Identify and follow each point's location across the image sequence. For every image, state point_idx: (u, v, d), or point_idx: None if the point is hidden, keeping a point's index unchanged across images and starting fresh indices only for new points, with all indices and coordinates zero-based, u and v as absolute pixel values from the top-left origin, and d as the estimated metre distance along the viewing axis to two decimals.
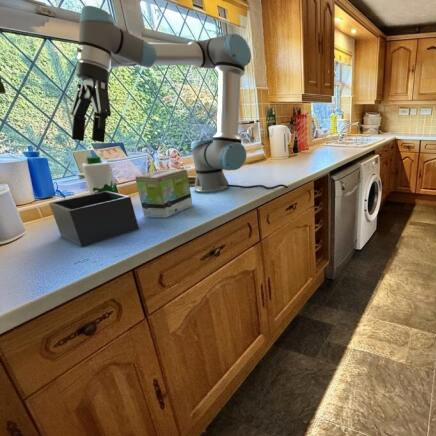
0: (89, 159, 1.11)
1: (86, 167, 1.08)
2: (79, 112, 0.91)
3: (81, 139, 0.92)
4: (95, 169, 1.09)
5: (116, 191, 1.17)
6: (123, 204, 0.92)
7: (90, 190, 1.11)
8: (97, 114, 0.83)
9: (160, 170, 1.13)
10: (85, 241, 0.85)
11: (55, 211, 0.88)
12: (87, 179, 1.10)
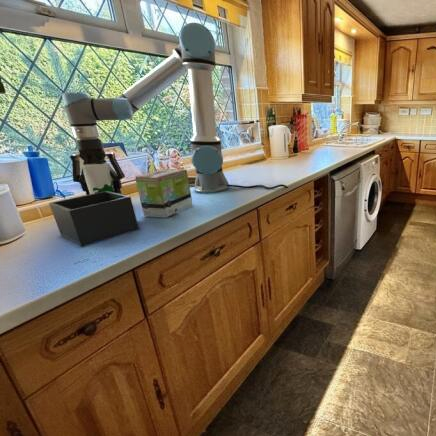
0: None
1: (86, 167, 1.08)
2: None
3: None
4: (95, 169, 1.09)
5: None
6: (123, 204, 0.92)
7: (90, 190, 1.11)
8: (117, 179, 1.14)
9: (160, 170, 1.13)
10: (85, 241, 0.85)
11: (55, 211, 0.88)
12: (87, 179, 1.10)
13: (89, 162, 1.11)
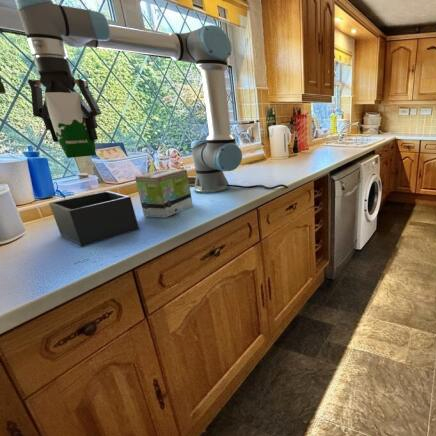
0: None
1: (48, 94, 0.83)
2: None
3: None
4: (60, 98, 0.84)
5: None
6: (123, 204, 0.92)
7: (55, 127, 0.86)
8: (90, 115, 0.89)
9: (160, 170, 1.13)
10: (85, 241, 0.85)
11: (55, 211, 0.88)
12: (50, 111, 0.85)
13: (53, 90, 0.86)
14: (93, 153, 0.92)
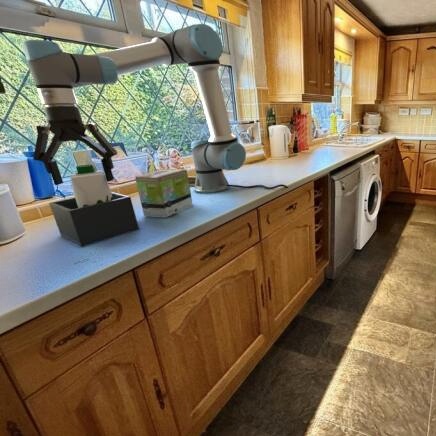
0: (79, 168, 0.88)
1: (74, 179, 0.84)
2: (51, 155, 0.85)
3: (61, 182, 0.89)
4: (86, 181, 0.86)
5: None
6: (123, 204, 0.92)
7: (80, 207, 0.88)
8: (107, 156, 0.87)
9: (160, 170, 1.13)
10: (85, 241, 0.85)
11: (55, 211, 0.88)
12: (76, 194, 0.86)
13: (61, 138, 0.84)
14: None
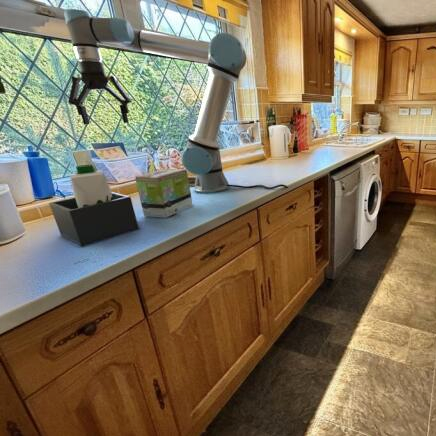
0: (79, 168, 0.88)
1: (74, 179, 0.84)
2: (81, 101, 1.11)
3: (88, 123, 1.15)
4: (86, 181, 0.86)
5: None
6: (123, 204, 0.92)
7: (80, 207, 0.88)
8: (124, 103, 1.13)
9: (160, 170, 1.13)
10: (85, 241, 0.85)
11: (55, 211, 0.88)
12: (76, 194, 0.86)
13: (90, 86, 1.10)
14: None
